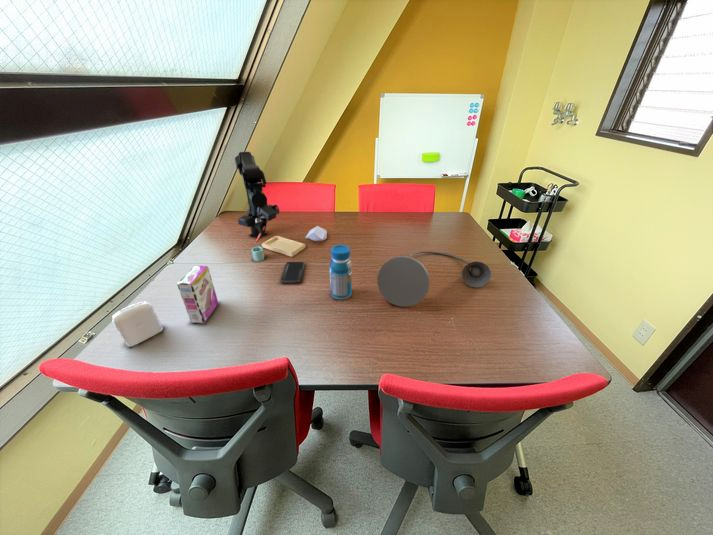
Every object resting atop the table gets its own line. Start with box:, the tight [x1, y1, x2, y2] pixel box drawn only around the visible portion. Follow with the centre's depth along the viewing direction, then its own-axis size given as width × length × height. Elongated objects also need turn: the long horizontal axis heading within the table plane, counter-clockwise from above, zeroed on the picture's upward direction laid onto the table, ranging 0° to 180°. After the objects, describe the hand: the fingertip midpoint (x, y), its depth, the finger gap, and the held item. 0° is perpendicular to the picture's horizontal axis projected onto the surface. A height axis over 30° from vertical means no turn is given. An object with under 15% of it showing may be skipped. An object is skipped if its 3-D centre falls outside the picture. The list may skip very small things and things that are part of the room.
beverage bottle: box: [329, 244, 353, 300], centre depth 107 cm, size 8×8×20 cm
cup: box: [251, 246, 265, 262], centre depth 132 cm, size 5×5×5 cm
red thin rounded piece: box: [255, 226, 265, 243], centre depth 128 cm, size 7×1×10 cm, turn 61°
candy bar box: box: [176, 265, 219, 324], centre depth 98 cm, size 11×5×16 cm, turn 178°
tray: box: [261, 235, 306, 258], centre depth 143 cm, size 19×11×2 cm, turn 62°
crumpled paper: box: [304, 225, 328, 242], centre depth 150 cm, size 9×7×13 cm
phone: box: [281, 261, 305, 284], centre depth 123 cm, size 8×1×15 cm
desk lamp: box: [377, 250, 492, 308], centre depth 120 cm, size 18×45×40 cm
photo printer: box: [111, 300, 164, 348], centre depth 89 cm, size 10×4×12 cm, turn 140°
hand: (262, 233), depth 127 cm, fingers closed on red thin rounded piece, 1 cm apart
